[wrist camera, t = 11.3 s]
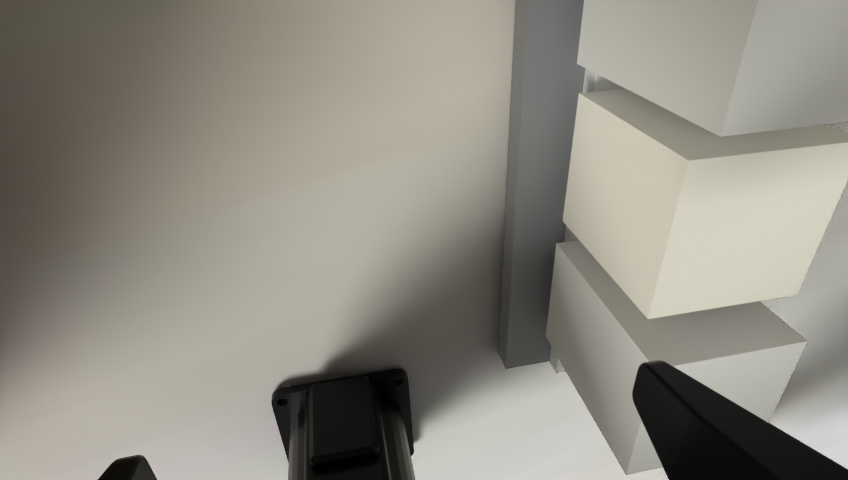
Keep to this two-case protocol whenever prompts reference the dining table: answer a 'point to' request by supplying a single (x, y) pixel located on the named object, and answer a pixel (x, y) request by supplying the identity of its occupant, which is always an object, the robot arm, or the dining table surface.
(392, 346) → the dining table surface
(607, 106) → the block
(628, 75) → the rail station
